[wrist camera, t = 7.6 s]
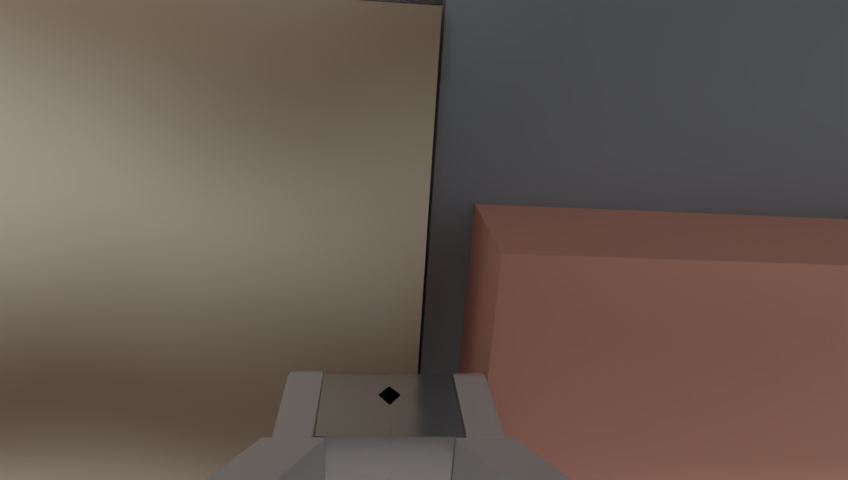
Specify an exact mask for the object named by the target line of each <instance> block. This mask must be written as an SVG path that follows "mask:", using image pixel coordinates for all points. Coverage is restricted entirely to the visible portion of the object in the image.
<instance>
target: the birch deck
mask: <svg viewBox="0 0 848 480" xmlns="http://www.w3.org/2000/svg"><path fill="white" fill-rule="evenodd" d="M441 16H442V6H437V5H423V4H408V3H394V2H379V1H365V0H0V480H205V479H207V478H208V477H209V476H211V475H212V474H213V473H215V472H216V471H217V470H219V469H220V468H221V467H223V466H224V465H225V464H227V463H228V462H229V461H231V460H232V459H233V458H235V457H236V456H237V455H239V454H240V453H241V452H243V451H244V450H246V449H247V448H248V447H250V446H251V445H252V444H254V443H255V442H256V441H258V440H259V439H260V438H262V437H272V435H273V431H274V427H275V423H276V419H277V416H278V412H279V408H280V404H281V400H282V396H283V392H284V388H285V385H286V381H287V377H288V374H289V373H290V372H291V371H323V372H325V371H332V372H362V373H389V374H417V373H418V359H419V344H420V329H421V314H422V299H423V284H424V269H425V254H426V239H427V225H428V210H429V195H430V180H431V165H432V150H433V135H434V120H435V105H436V91H437V76H438V61H439V46H440V31H441Z"/></svg>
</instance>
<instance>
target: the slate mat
mask: <svg viewBox="0 0 848 480" xmlns="http://www.w3.org/2000/svg"><path fill="white" fill-rule="evenodd" d="M475 204H489V205H513V206H538V207H562V208H586V209H611V210H635V211H659V212H684V213H708V214H732V215H757V216H781V217H805V218H830V219H848V0H442V16H441V31H440V46H439V61H438V76H437V91H436V105H435V120H434V135H433V150H432V165H431V180H430V195H429V210H428V225H427V239H426V254H425V269H424V284H423V299H422V314H421V329H420V344H419V359H418V373H417V374H451V373H459V363H460V352H461V342H462V332H463V321H464V311H465V301H466V290H467V280H468V269H469V259H470V249H471V238H472V228H473V218H474V207H475Z"/></svg>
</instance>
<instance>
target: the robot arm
mask: <svg viewBox="0 0 848 480" xmlns="http://www.w3.org/2000/svg"><path fill="white" fill-rule="evenodd" d="M205 480H571V479H570V478H569V477H567V476H566V475H564V474H563V473H562V472H560V471H559V470H558V469H556V468H555V467H554V466H552V465H551V464H549V463H548V462H547V461H545V460H544V459H543V458H541V457H540V456H539V455H537V454H536V453H535V452H533V451H532V450H530V449H529V448H528V447H526V446H525V445H524V444H522V443H521V442H520V441H518V440H517V439H515V438H505V434H504V431H503V428H502V425H501V422H500V419H499V416H498V413H497V409H496V406H495V403H494V400H493V397H492V394H491V391H490V388H489V384H488V381H487V378H486V375H484V374H483V373H451V374H389V373H362V372H332V371H325V372H323V371H291V372H290V373H289V374H288V377H287V381H286V385H285V388H284V392H283V396H282V400H281V404H280V408H279V412H278V416H277V419H276V423H275V427H274V431H273V435H272V437H262V438H260V439H259V440H258V441H256V442H255V443H254V444H252V445H251V446H250V447H248V448H247V449H246V450H244V451H243V452H241V453H240V454H239V455H237V456H236V457H235V458H233V459H232V460H231V461H229V462H228V463H227V464H225V465H224V466H223V467H221V468H220V469H219V470H217V471H216V472H215V473H213V474H212V475H211V476H209V477H208V478H207V479H205Z"/></svg>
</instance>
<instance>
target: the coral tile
mask: <svg viewBox="0 0 848 480" xmlns="http://www.w3.org/2000/svg"><path fill="white" fill-rule="evenodd" d="M459 373H483V374H484V375H486V378H487V381H488V384H489V388H490V391H491V394H492V397H493V400H494V403H495V406H496V409H497V413H498V416H499V419H500V422H501V425H502V428H503V431H504V434H505V438H515V439H517V440H518V441H520V442H521V443H522V444H524V445H525V446H526V447H528V448H529V449H530V450H532V451H533V452H535V453H536V454H537V455H539V456H540V457H541V458H543V459H544V460H545V461H547V462H548V463H549V464H551V465H552V466H554V467H555V468H556V469H558V470H559V471H560V472H562V473H563V474H564V475H566V476H567V477H569V478H570V479H571V480H848V219H830V218H805V217H781V216H757V215H732V214H708V213H684V212H659V211H635V210H611V209H586V208H562V207H538V206H513V205H489V204H475V207H474V218H473V228H472V238H471V249H470V259H469V269H468V280H467V290H466V301H465V311H464V321H463V332H462V342H461V352H460V363H459Z"/></svg>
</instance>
